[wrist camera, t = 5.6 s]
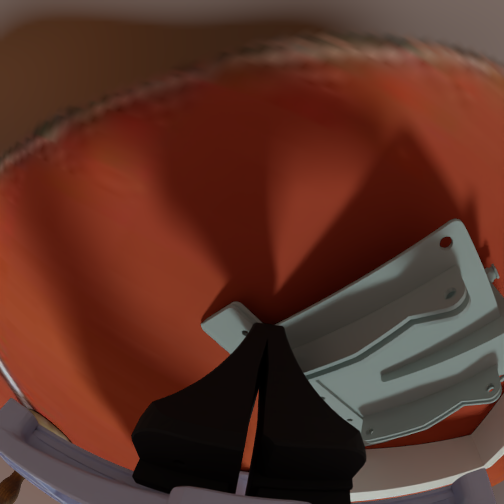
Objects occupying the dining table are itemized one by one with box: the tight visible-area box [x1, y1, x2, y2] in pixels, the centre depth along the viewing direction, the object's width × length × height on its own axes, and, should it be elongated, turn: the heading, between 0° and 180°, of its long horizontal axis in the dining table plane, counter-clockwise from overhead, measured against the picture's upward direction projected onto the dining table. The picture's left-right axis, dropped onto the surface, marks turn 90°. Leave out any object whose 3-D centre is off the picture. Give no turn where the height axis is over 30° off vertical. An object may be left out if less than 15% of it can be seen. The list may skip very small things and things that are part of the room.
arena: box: [350, 393, 504, 501], centre depth 11 cm, size 15×23×4 cm, turn 174°
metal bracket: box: [201, 219, 504, 446], centre depth 13 cm, size 14×6×15 cm
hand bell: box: [0, 409, 71, 504], centre depth 17 cm, size 8×8×16 cm
